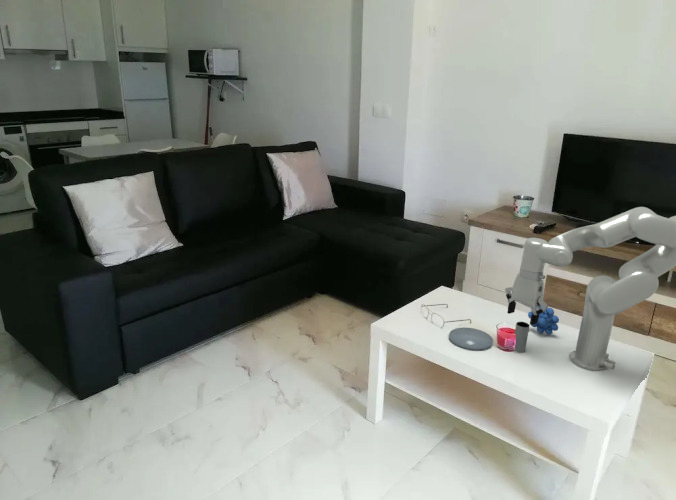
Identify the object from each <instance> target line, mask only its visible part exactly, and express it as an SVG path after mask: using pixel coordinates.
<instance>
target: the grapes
mask: <svg viewBox="0 0 676 500" xmlns="http://www.w3.org/2000/svg"><path fill="white" fill-rule="evenodd" d="M539 308H540V309H541V308H542V306H539ZM535 309H536V308H535ZM530 310H531V311H528V313H527V316H528V318H529V319H530V320H531V315H532V314H533V311H532V309H531V308H530ZM536 311H537V310H536ZM559 321H560V319H559V316H557V315H556V314H555V310H554V309H553V308H552V307H548V308H547V309H546V310H545V312H543V313H541V314H539V318H538V322H537V323H536V324H533V325H530V326H532V328H536V331H537V332H538V334H544V333H545V334H546V335H548V336H550V335H552V334H553V332H555V331H558V330H559V325H558V323H559Z"/></svg>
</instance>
